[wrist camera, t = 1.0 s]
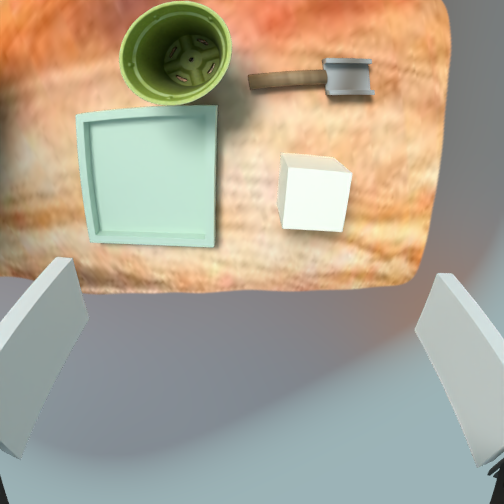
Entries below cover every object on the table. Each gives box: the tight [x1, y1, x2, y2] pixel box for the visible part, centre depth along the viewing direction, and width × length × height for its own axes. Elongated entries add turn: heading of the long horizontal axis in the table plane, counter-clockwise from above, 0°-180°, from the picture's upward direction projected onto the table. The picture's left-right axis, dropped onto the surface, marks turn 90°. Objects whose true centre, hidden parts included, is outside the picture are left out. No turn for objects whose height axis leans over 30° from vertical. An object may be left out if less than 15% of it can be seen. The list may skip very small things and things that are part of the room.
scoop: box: [248, 58, 375, 95], centre depth 28 cm, size 13×4×2 cm, turn 97°
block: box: [277, 153, 352, 232], centre depth 32 cm, size 6×6×7 cm
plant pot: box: [119, 1, 232, 106], centre depth 24 cm, size 9×9×9 cm
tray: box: [76, 105, 218, 247], centre depth 33 cm, size 16×16×2 cm
